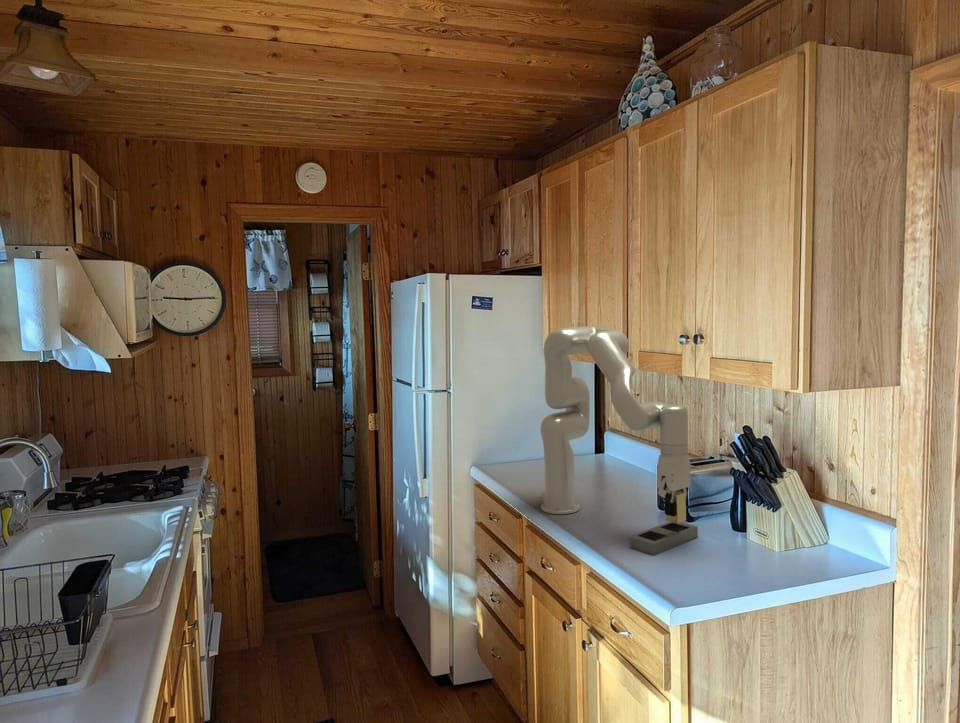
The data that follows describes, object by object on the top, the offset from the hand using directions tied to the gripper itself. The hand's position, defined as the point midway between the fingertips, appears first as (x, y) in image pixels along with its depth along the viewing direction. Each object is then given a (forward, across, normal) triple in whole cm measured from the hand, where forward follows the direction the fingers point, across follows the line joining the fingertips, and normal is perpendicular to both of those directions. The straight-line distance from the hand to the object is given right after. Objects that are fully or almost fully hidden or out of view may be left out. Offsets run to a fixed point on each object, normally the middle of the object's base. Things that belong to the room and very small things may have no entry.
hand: (675, 512), depth 191 cm
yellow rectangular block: (+2, 0, 0) cm, 2 cm away
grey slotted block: (+7, +5, 0) cm, 9 cm away
